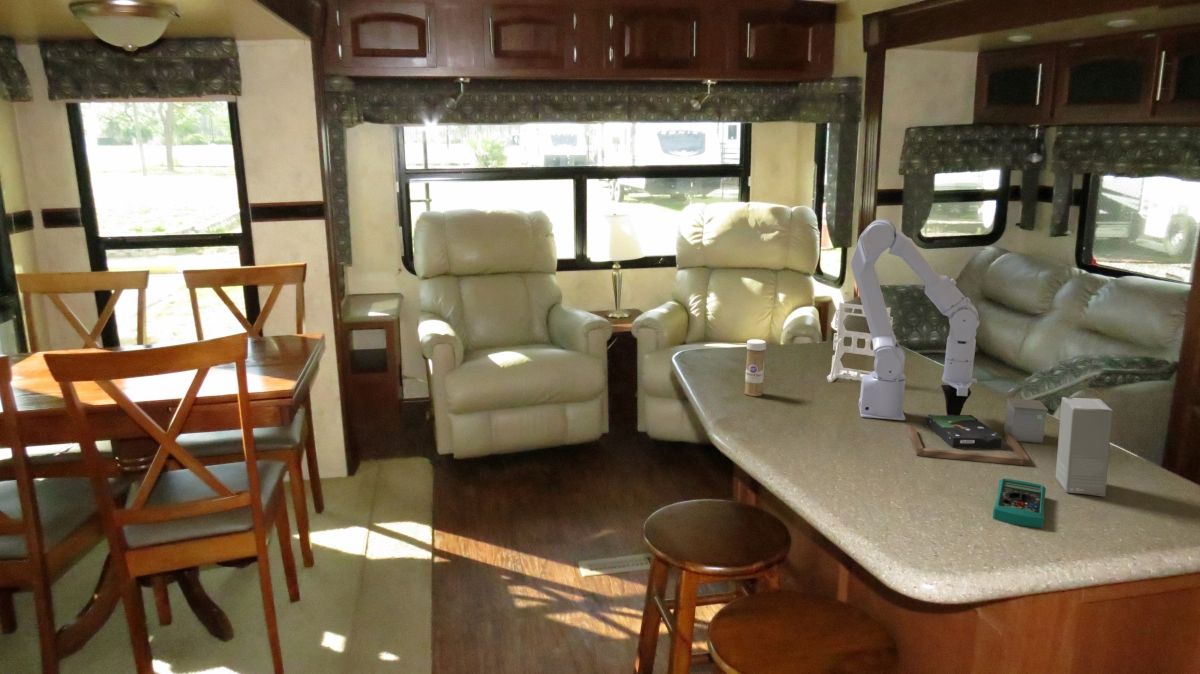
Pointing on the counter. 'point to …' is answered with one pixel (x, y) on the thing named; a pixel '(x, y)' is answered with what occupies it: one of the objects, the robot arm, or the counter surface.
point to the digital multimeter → (1020, 503)
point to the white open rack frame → (853, 349)
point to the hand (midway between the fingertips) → (952, 418)
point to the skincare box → (1083, 445)
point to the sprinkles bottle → (755, 367)
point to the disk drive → (963, 431)
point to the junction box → (1025, 420)
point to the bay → (1019, 452)
